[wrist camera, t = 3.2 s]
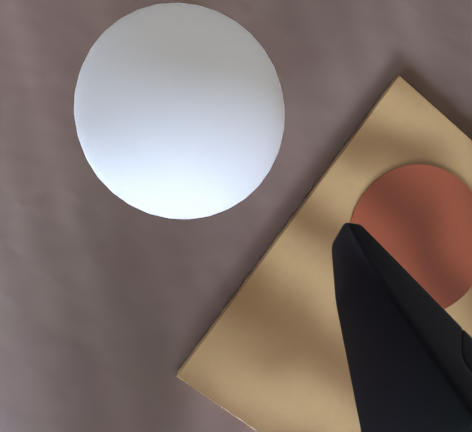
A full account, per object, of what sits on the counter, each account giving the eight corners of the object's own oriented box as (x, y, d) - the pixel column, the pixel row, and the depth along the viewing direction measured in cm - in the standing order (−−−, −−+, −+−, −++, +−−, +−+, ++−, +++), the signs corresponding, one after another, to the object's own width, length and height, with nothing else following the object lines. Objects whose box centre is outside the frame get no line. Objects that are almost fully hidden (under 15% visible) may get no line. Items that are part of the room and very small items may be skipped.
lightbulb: (154, 237, 19) (119, 268, 8) (99, 127, 18) (-17, 4, 8) (259, 186, 20) (357, 151, 9) (209, 80, 19) (247, -94, 8)
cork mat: (375, 509, 21) (381, 518, 20) (176, 372, 19) (176, 377, 18) (561, 227, 23) (571, 228, 22) (394, 78, 21) (400, 74, 20)
